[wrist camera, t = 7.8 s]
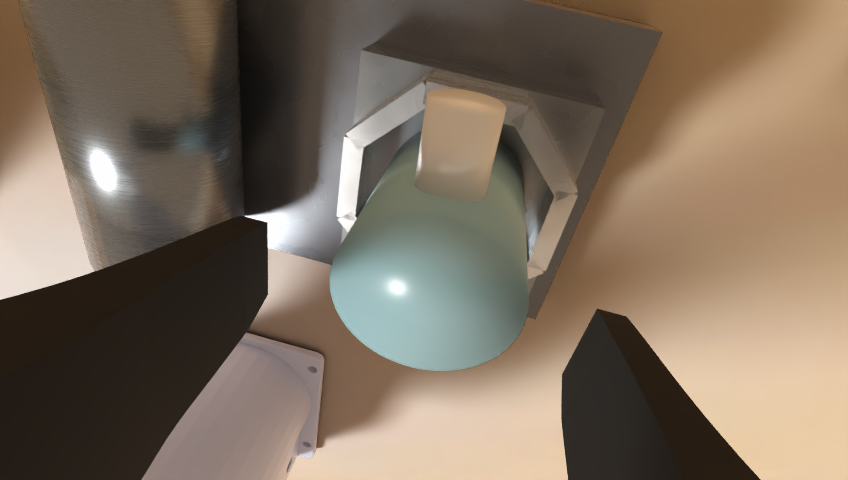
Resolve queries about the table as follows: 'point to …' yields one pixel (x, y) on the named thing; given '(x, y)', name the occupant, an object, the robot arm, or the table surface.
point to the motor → (317, 110)
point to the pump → (440, 244)
